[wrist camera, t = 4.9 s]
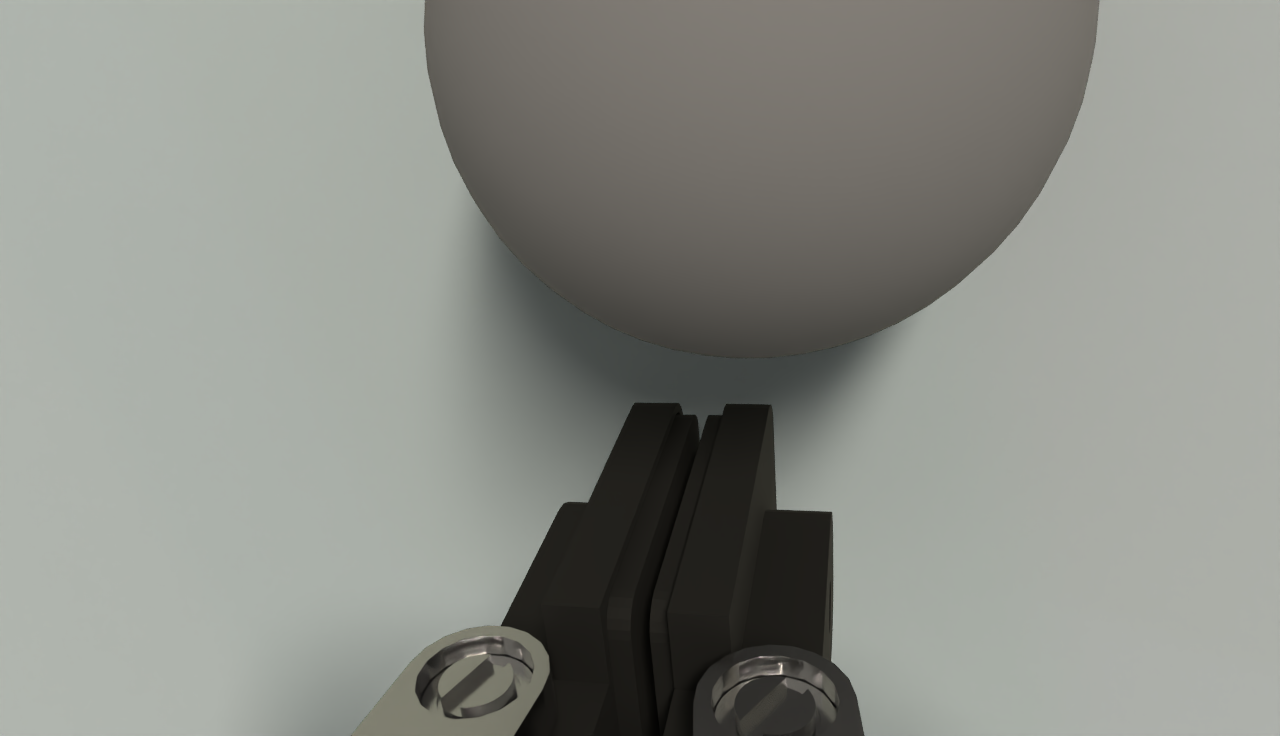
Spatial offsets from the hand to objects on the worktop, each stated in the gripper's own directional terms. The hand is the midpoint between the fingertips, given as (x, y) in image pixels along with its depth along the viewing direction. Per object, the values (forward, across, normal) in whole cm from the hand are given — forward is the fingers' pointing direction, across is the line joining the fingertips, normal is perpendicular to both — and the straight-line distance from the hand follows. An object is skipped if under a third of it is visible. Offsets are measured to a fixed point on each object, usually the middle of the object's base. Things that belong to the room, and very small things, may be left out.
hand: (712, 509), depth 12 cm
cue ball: (-1, -1, -6) cm, 6 cm away
